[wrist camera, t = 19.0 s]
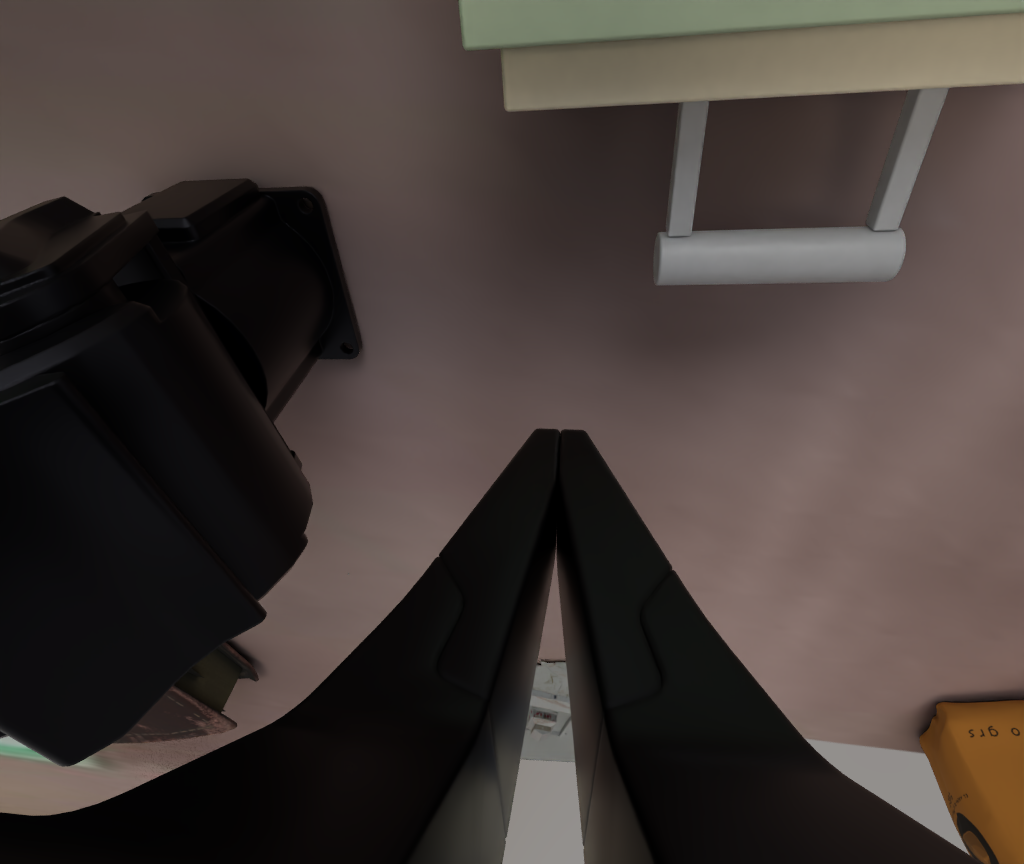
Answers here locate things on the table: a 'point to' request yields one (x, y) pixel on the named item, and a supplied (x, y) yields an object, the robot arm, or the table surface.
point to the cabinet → (685, 17)
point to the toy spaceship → (549, 716)
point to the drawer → (777, 73)
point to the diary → (195, 701)
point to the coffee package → (981, 774)
